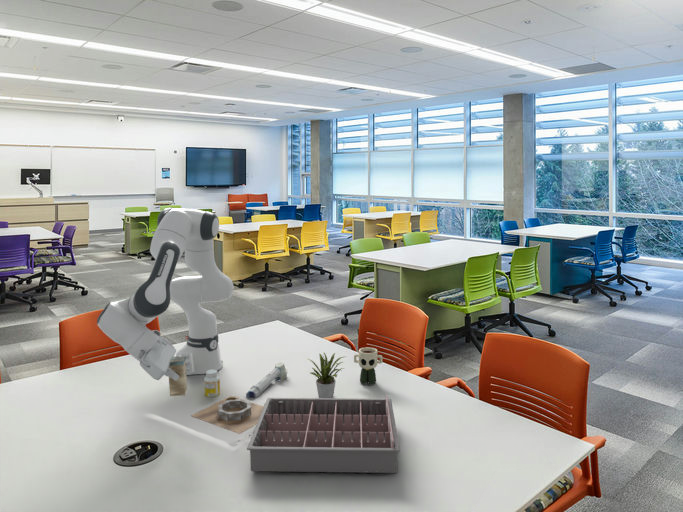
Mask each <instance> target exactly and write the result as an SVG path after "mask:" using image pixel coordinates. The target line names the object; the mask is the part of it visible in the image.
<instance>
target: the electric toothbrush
mask: <svg viewBox="0 0 683 512" xmlns="http://www.w3.org/2000/svg"><path fill="white" fill-rule="evenodd" d="M285 378H286V379H287V378H288V369H287V368H286V366H285V363H284V362H278V363H276V364H275V366H274V368H273V369H272V370H271V371H270V372H269V373H268V374H267V375H266V376H264V377H263V378H262V379H260V380H259V381H258V382H257V383H256V384H254V385H252V386H251V387H250V388H249V389H248V391H247V392H245V395H246V397H247V398H252V399H256V398H257V397H259V396H260V395H262V393H263V392H264V391H265V390H266V389H267V388H268V387H269V386H270V385H271V383H273V382H274V380H275V379H276V380H275V381H278V380H280V381H283V380H286V379H285Z"/></svg>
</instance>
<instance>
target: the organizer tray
mask: <svg viewBox="0 0 683 512" xmlns="http://www.w3.org/2000/svg"><path fill="white" fill-rule="evenodd" d="M399 443H400V442H399V438H398V432H397V426H396V420H395V414H394V408H393V402H392V399H391V398H388V394H385V398H343V397H342V398H337V397H335V398H334V397H333V398H319V397H317V398H316V397H312V398H311V397H267V398H266V401H265V404H264V408H263V410H262V413H261V415H260V418H259V420H258V423H257V424H256V425H255V427H254V430H253V433H252V435H251V437H250V440H249V443H248V445H247V447H246V450H248V451H249V453H250V454H249V458H250V460H249V461H250V472H300V473H301V472H302V473H303V472H307V473H314V472H316V473H317V472H318V473H319V472H321V473H323V472H324V473H381V474H382V473H386V474H388V473H389V474H390V473H393V474H394V473H397V463H398V462H397V454H398V452H400V451H401V450H400V444H399Z"/></svg>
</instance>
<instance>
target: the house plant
mask: <svg viewBox="0 0 683 512" xmlns="http://www.w3.org/2000/svg"><path fill="white" fill-rule="evenodd" d="M335 354H336V352H334V353H333V354H332V355H331V357H330V359H329V360H328V357H327V354H326V353H325V352H323V354H321V353H319V356H318V357H319V362H320V368H319V366H318V364H317V363H315V362H314V360H313V359H310V358H308V360H309V361H310V362H311V363H312V364H313V365H314V366H315V367H316V368H314V367H311V368H312V370H313V371H311V372H309V374H311V375H313V376H314V377H315V378H317V379H316V380H315V384H316V390H317V395H318V398H334V393H335V387H336V379H335V378H337V377H338V372H340V371H342V370H344V369H345V367H344V368H343V367H341V368H340V369H339V368H337V367H338V366H339V365H341V364H342V363H344V361H341V362H339V363H338V361H340V360H341V359H342V358H346V357H348V356H347V355H346V356H340V357H338V358H337V359H336V360H335ZM335 365H336V366H335ZM332 369H333V370H332ZM334 372H335V373H334ZM333 373H334V374H333Z"/></svg>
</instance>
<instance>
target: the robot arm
mask: <svg viewBox="0 0 683 512" xmlns="http://www.w3.org/2000/svg"><path fill="white" fill-rule="evenodd" d="M156 223H157V225H156V226H157V227H156V229H155V231H154V234H153V236H152V239H151V242H150V248H149V252H150V254H151V256H152V257H153V258H154V259H155V260H154V264H153V266H152V269H151V272H150V274H149V277H148V279H147V280H146V281H145V282H143V284H141V285H140V286H139V287H138V289H137V290H136V292H135V293H134V294H133V295H132V296H129V297H128V298H125V299H121V300H118V301H110V302H108V303H107V304H106V305H105V306H104V308H103V309H102V311H101V312H100V314H99V315H98V317H97V319H96V325H97V326H98V327H99V329H100V330H101V331H102V332H103V333H104V334H105V336H107V337H108V338H109V339H110V340H112V341H113V342H114V343H117V344H118V345H120V346H121V347H122V348H123V349H124V351H126V353H128V354H129V355H130V356H131V357H133V358H134V359H135V360H137V361H138V362H139V365H140V367H141V369H143V370H144V371H145V373H147V374H148V376H150V377H151V378H152V379H154V380H156V381H159V380H161V379H162V377H164V376H165V377H168V378H169V377H171V378H172V379H174V380H175V381H176V380H177V379H178V378H179V377H180V374H178V373H177V372H174V371H172V370H171V368H170V367H169V365H170V362H169V361H170V359H171V357H175V356H185V358H186V360H185V361H186V376H192V375H206V371H208V370H212V369H214V370H217V371H219V370H221V369H222V368H223V359H222V358H221V357H222V355H221V349H220V345H219V334H218V331H217V330H218V327H217V326H218V325H217V323H218V322H217V316H216V314H214V312H212V311H210V310H208V309H205V308H203V307H202V306H201V304H202V303H212V302H214V303H215V302H217V303H219V302H222V301H225V300H229V299H230V298H231V297H232V295H233V293H234V288H235V287H234V286H235V285H234V283H233V280H232V279H231V278H230V276H228V275H227V274H224V273H223V272H222V271H221V270H220V269H219V268H218V266H217V263H216V259H215V249H214V247H215V246H214V239H215V238H216V237H217V235H218V233H219V229H220V219H219V217H218V216H217V215H216V213H214V212H211V211H208V210H206V211H205V210H200V209H195V208H175V207H166V208H164V209H162V210H161V211H160V212H159V214H158V216H157V221H156ZM183 254H184V263H185V265H186V266H187V268H188V269H190V270H191V271H193V272H195V273H197V274H200V275H189V276H187V275H186V276H179V277H175V278H173V276H174V273H175V269H176V266H177V264H178V263H179V261H180V260H181V258H182V256H183ZM171 302H173V303H174V304H175V305H177V306H178V307H180V308H181V309H182V311H183V313H184V314H185V315H186V316H185V317H186V319H187V324H188V335H187V336H185V337H184V339H185V340H186V343H185V344H184V345H183V346H182V347H181V348H180V349H179V350H177V349H176V348H175V346H174V345H173V344H172V343H171V342H170V341H168V339H166V338H165V337H163V336H162V333H161V332H160V331H159V330H157V329H155V330H154V329H153V330H152V329H149V328H148V327H147V326H146V325H147V324H149V323H151V322H152V321H153V320H155V319H156V318H157V317H158V316H159V315H161V314H164V312H166V311H167V310H168V308H169V306H170V304H171Z"/></svg>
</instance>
